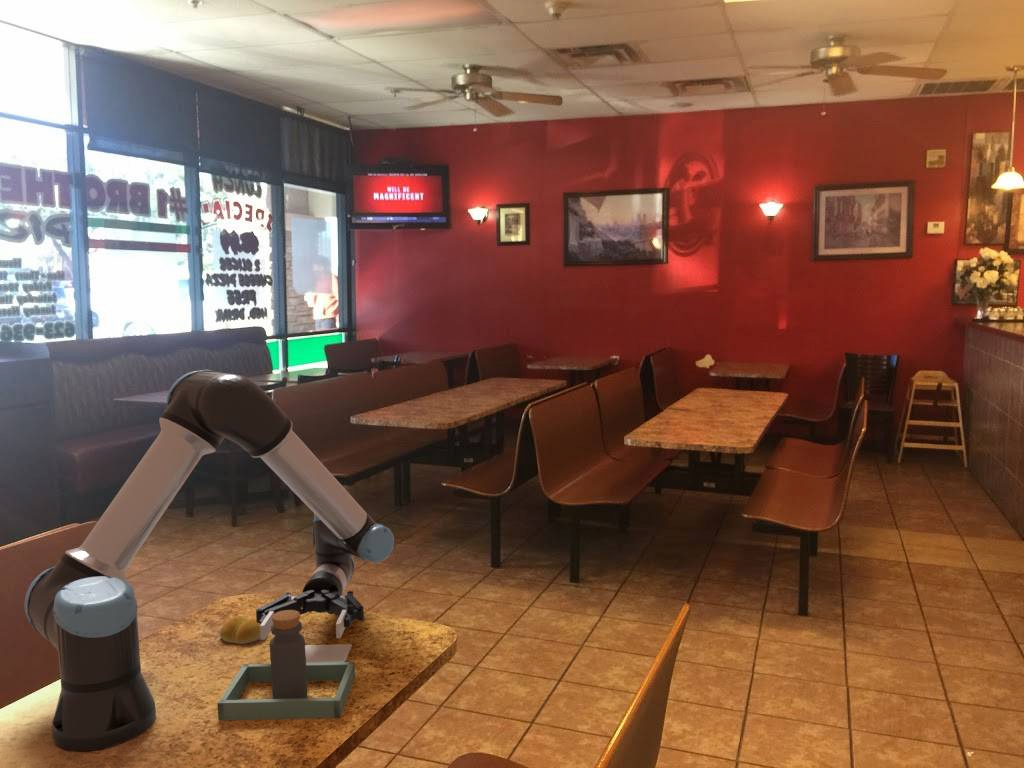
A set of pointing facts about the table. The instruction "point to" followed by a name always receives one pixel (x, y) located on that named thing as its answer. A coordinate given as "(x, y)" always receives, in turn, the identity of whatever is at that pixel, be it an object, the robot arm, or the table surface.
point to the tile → (327, 653)
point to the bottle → (288, 656)
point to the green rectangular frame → (287, 707)
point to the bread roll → (240, 630)
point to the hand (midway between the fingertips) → (300, 632)
